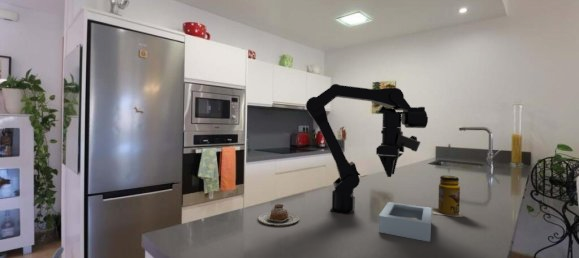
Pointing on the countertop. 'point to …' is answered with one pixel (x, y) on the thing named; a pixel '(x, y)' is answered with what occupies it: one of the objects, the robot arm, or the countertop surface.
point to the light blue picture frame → (406, 221)
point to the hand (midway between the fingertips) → (390, 175)
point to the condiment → (448, 197)
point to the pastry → (278, 216)
